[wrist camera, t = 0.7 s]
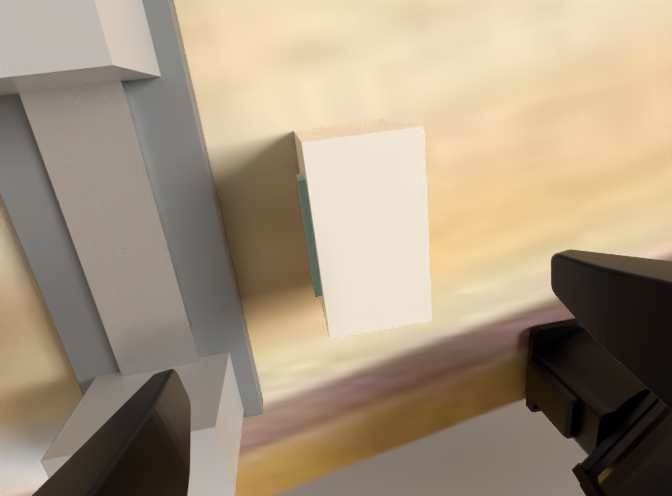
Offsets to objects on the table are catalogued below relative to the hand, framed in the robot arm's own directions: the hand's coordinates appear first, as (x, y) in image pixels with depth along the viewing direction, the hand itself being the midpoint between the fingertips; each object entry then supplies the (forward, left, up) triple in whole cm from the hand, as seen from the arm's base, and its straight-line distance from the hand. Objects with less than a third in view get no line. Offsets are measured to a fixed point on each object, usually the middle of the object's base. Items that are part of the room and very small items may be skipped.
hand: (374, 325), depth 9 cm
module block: (-1, 0, -13) cm, 13 cm away
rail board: (+10, 0, -13) cm, 16 cm away
